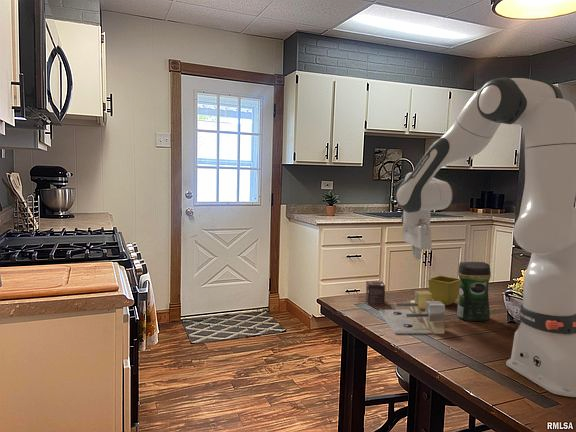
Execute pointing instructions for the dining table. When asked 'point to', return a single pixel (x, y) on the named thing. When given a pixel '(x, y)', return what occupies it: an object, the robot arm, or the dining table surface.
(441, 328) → the beam
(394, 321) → the hole plate
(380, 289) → the box
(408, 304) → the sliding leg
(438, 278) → the flower pot
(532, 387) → the dining table surface
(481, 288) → the coffee jar
